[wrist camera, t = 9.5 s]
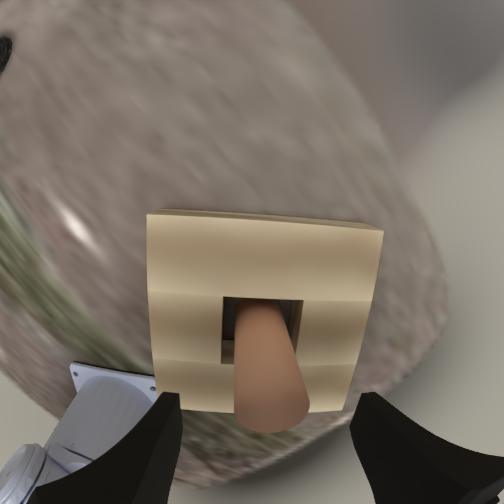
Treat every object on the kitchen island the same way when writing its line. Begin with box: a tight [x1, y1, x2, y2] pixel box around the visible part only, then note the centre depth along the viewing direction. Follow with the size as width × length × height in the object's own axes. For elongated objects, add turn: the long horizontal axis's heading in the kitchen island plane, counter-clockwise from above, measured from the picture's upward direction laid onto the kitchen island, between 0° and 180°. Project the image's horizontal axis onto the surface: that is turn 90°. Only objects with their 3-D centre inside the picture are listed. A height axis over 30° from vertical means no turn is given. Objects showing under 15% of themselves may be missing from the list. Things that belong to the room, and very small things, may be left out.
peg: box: [234, 297, 310, 433], centre depth 15 cm, size 3×3×10 cm
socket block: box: [147, 209, 384, 413], centre depth 18 cm, size 13×13×3 cm
